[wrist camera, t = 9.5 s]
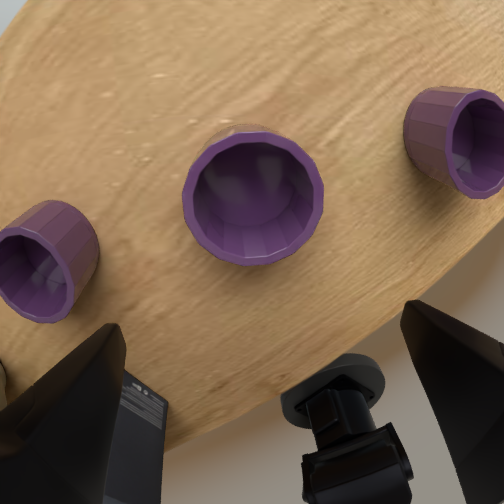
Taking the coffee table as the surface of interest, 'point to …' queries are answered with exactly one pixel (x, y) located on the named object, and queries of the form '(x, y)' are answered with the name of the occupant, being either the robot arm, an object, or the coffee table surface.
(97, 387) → the robot arm
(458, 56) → the coffee table surface
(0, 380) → the planter bowl
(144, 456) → the small box
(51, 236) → the plum dish
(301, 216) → the plum dish
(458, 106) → the plum dish
